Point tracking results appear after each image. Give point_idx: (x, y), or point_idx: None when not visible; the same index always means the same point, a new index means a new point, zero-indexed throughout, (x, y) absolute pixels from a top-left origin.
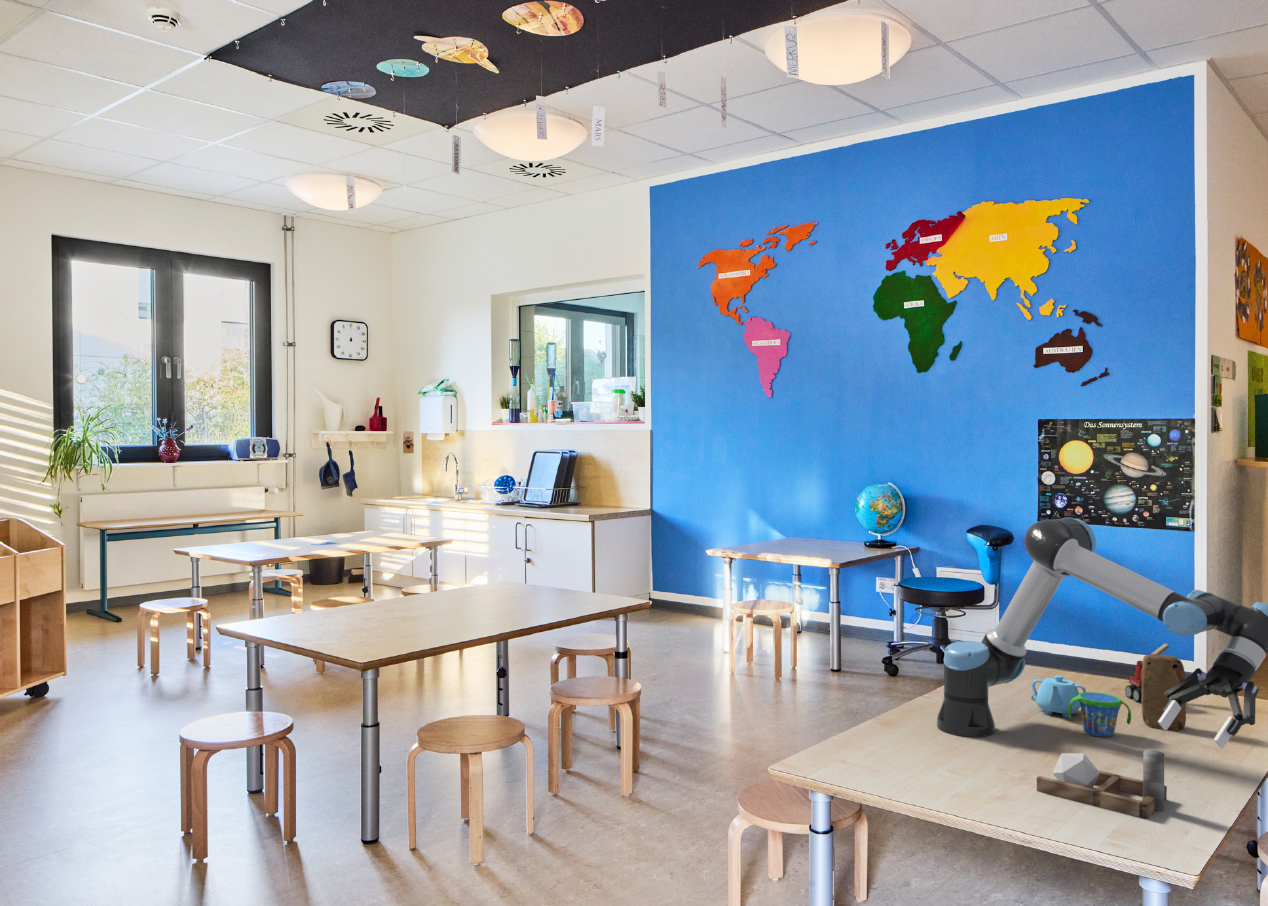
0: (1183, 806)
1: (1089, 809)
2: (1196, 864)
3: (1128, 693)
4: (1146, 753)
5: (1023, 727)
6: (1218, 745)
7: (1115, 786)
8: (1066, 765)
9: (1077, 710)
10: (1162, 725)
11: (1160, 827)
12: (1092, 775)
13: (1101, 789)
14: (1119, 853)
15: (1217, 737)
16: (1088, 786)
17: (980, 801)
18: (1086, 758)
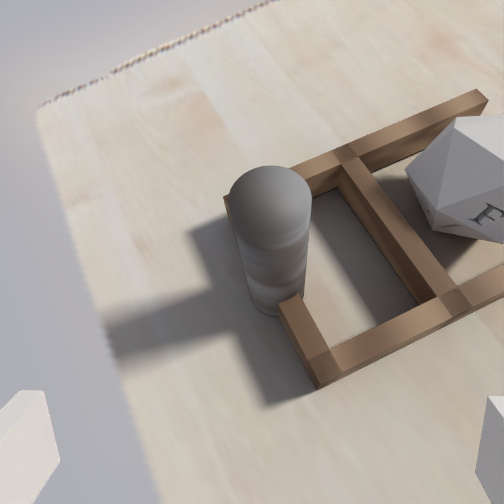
0: (264, 405)
1: None
2: (43, 144)
3: None
4: (275, 167)
5: None
6: (52, 441)
7: (406, 268)
8: (473, 118)
9: None
10: (486, 426)
11: (187, 216)
12: (425, 181)
13: (353, 170)
14: (143, 68)
15: (11, 405)
16: (414, 188)
17: (428, 7)
18: (490, 169)
